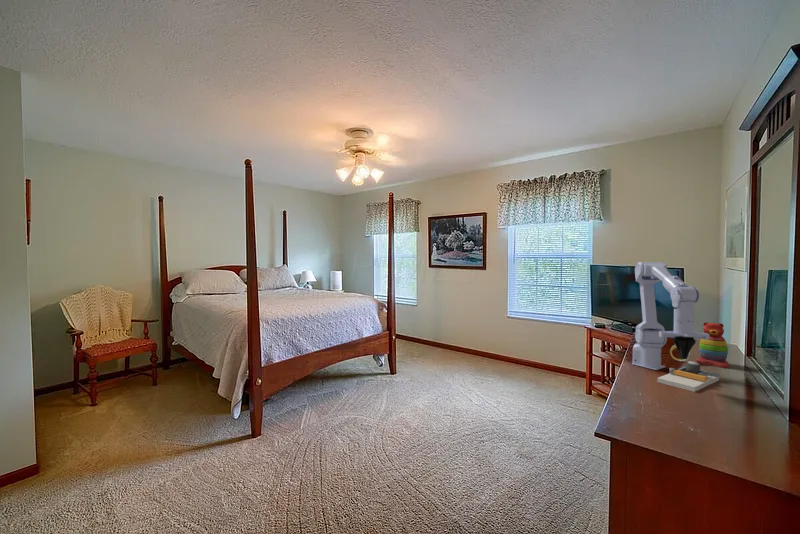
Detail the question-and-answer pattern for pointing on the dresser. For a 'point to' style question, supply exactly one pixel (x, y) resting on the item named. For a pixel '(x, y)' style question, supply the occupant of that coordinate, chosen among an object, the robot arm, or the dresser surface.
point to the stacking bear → (713, 346)
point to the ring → (676, 358)
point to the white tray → (689, 380)
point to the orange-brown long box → (687, 374)
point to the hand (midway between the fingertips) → (683, 358)
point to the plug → (693, 367)
